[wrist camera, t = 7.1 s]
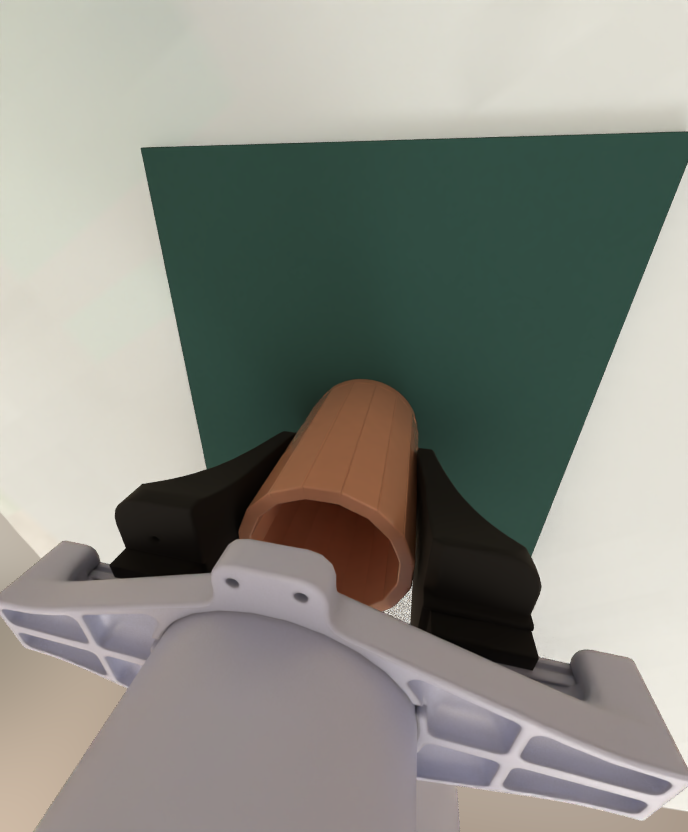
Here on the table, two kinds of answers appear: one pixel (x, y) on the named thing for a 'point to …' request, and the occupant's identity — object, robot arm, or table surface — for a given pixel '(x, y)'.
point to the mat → (414, 289)
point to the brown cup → (348, 491)
